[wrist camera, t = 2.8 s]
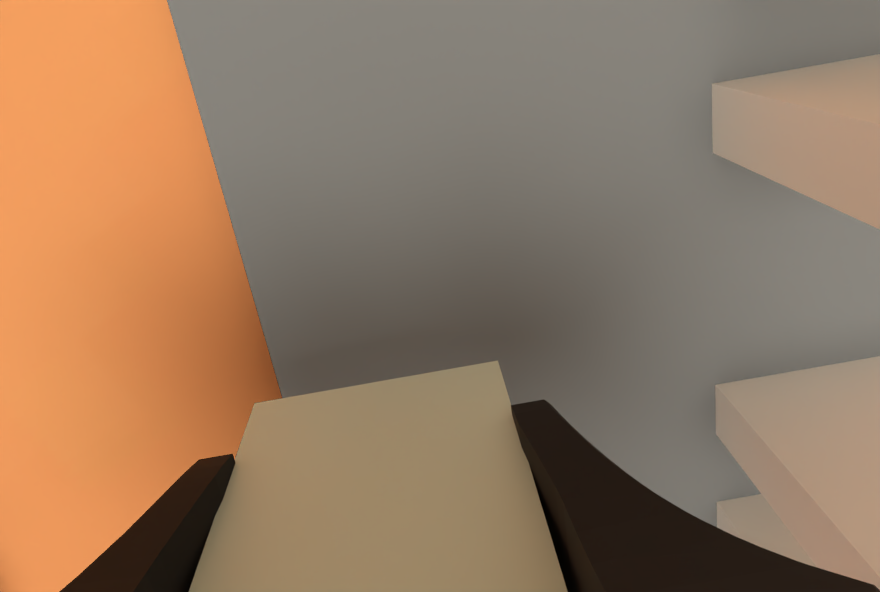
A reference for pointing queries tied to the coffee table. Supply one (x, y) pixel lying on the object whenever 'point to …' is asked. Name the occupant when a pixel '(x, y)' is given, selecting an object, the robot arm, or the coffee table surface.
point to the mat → (533, 206)
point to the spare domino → (383, 494)
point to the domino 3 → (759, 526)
